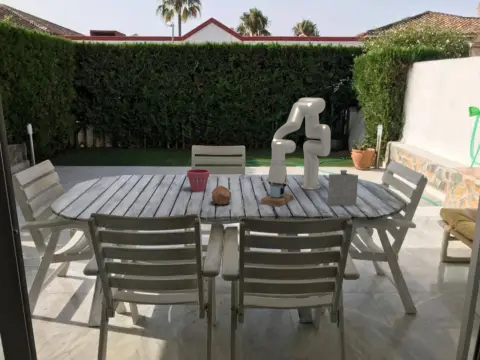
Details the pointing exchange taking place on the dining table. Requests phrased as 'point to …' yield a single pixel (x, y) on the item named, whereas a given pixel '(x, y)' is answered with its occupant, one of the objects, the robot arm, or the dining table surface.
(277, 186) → the block
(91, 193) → the dining table surface
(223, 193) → the decorative rock
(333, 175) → the hip flask
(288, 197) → the stand
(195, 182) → the plant pot
